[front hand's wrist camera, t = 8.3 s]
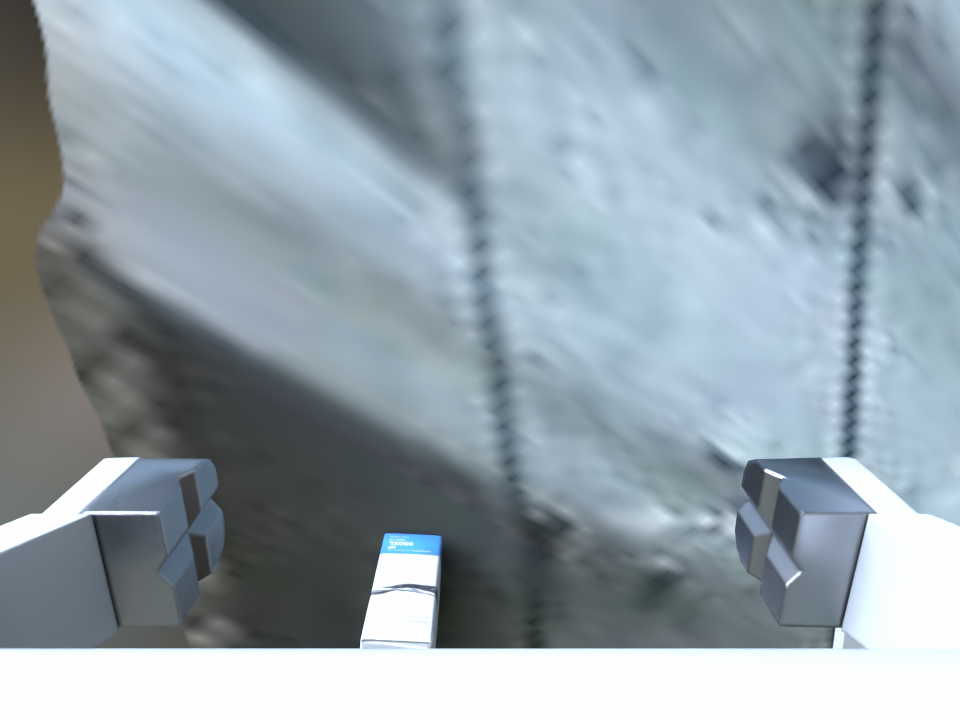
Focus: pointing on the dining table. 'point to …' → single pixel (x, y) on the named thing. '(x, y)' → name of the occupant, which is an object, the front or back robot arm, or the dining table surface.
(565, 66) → the dining table surface
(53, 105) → the dining table surface
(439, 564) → the ink box
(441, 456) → the dining table surface
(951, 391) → the dining table surface
